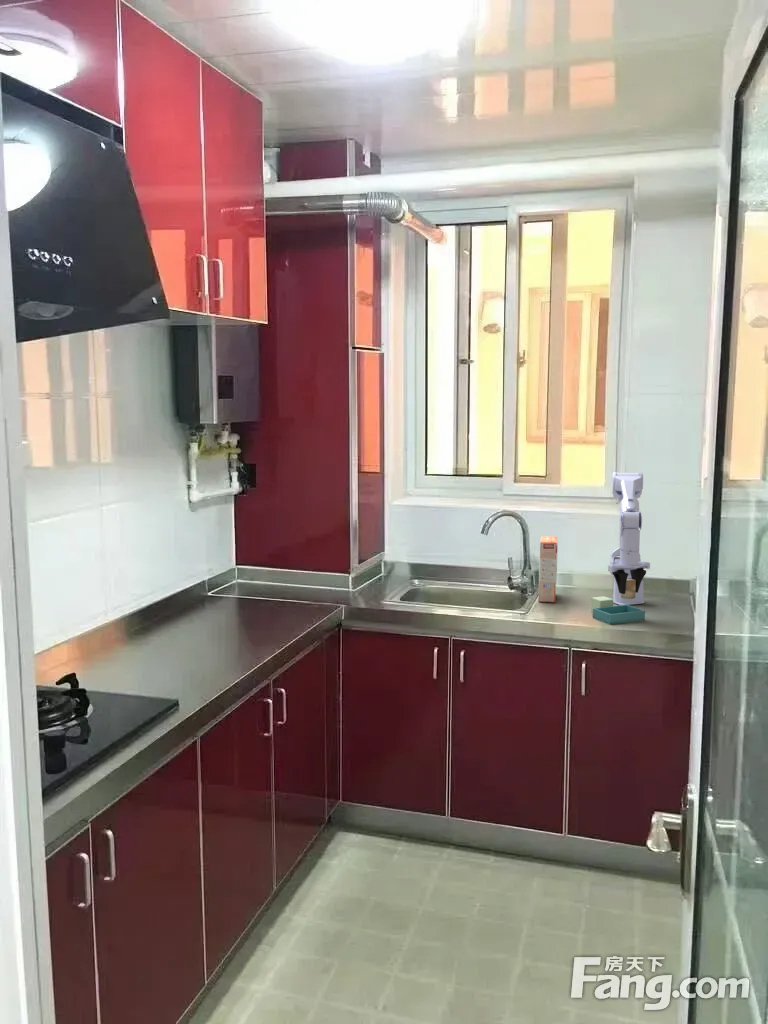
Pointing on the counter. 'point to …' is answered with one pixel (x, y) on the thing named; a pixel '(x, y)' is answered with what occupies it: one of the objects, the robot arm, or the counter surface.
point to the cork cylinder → (629, 589)
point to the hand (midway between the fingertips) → (628, 592)
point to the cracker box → (548, 569)
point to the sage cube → (600, 602)
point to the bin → (618, 614)
